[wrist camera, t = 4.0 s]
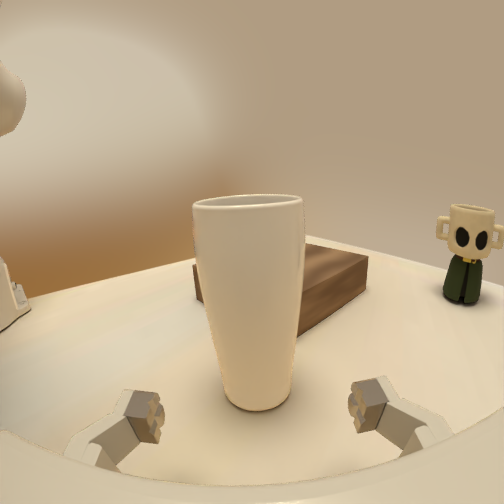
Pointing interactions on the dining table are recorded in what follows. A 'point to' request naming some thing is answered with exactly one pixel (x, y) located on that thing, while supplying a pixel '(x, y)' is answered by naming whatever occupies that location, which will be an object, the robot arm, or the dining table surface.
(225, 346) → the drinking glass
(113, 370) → the dining table surface
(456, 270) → the character mug
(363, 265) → the walnut riser dock
